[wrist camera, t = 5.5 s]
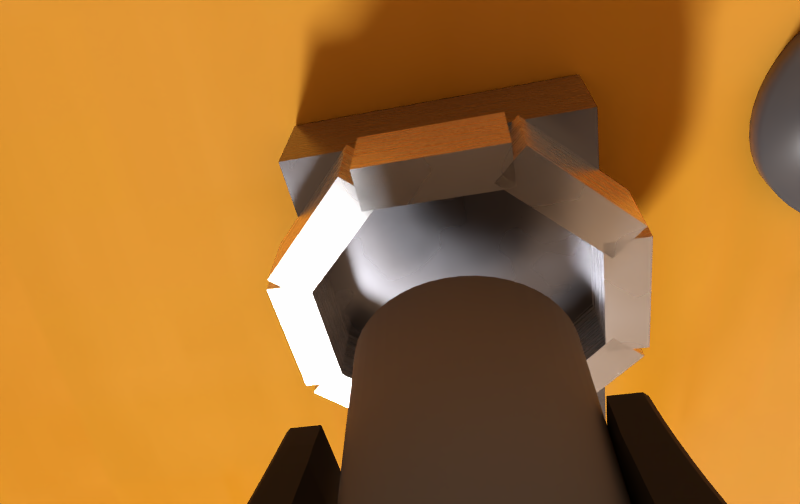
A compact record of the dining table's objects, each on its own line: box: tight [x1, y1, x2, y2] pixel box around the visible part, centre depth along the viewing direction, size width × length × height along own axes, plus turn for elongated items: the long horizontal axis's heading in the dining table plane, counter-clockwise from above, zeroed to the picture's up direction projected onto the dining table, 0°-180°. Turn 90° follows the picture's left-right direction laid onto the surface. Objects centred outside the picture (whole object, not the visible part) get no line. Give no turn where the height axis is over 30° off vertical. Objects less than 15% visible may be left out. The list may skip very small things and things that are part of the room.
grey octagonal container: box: [267, 75, 653, 418], centre depth 16 cm, size 8×10×4 cm
